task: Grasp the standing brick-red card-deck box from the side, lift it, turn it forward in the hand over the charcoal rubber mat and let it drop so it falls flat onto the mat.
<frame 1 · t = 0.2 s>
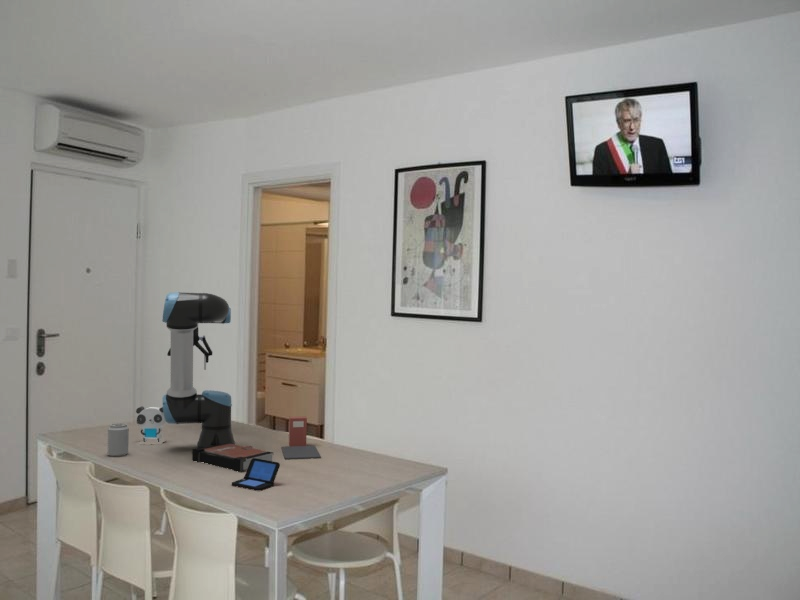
hand: (190, 368, 321), 28 cm above the table, tool tilted 20°, fingers open, 13 cm apart
handheld game console: (255, 485, 226), on the table
can: (117, 455, 263), on the table
book: (233, 463, 255), on the table
deck box: (297, 445, 285), on the table
panda figurine: (151, 442, 286), on the table
mat: (300, 452, 272), on the table
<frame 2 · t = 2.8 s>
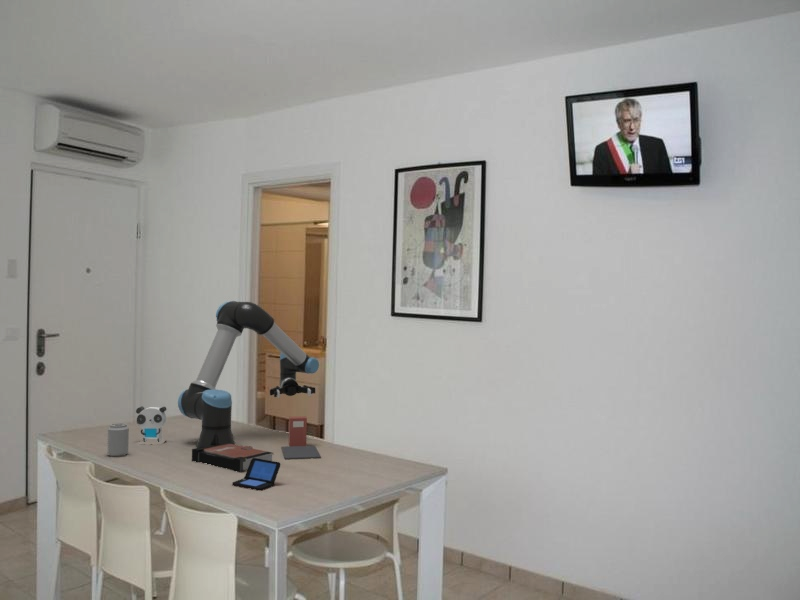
hand: (294, 394, 295), 20 cm above the table, tool horizontal, fingers open, 13 cm apart
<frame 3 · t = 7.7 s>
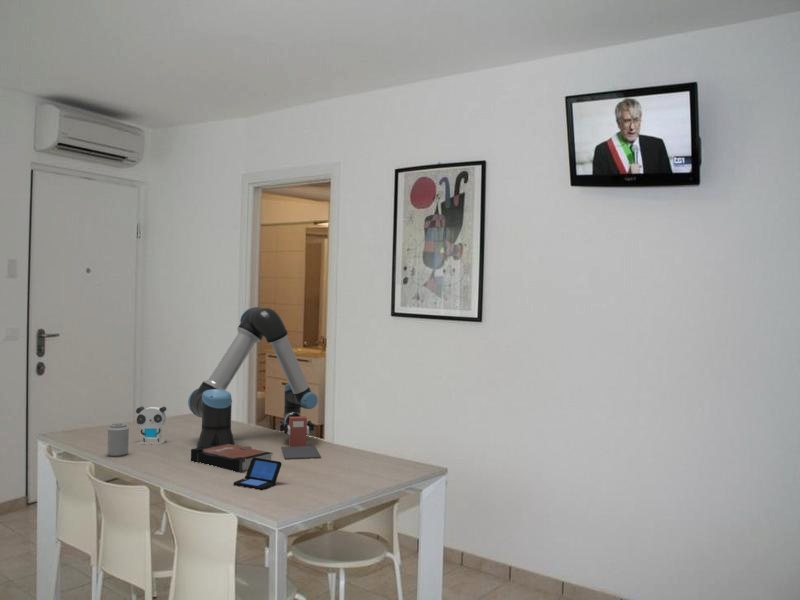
hand: (298, 431, 280), 7 cm above the table, tool horizontal, fingers closed on deck box, 7 cm apart
deck box: (297, 445, 285), on the table, touching gripper
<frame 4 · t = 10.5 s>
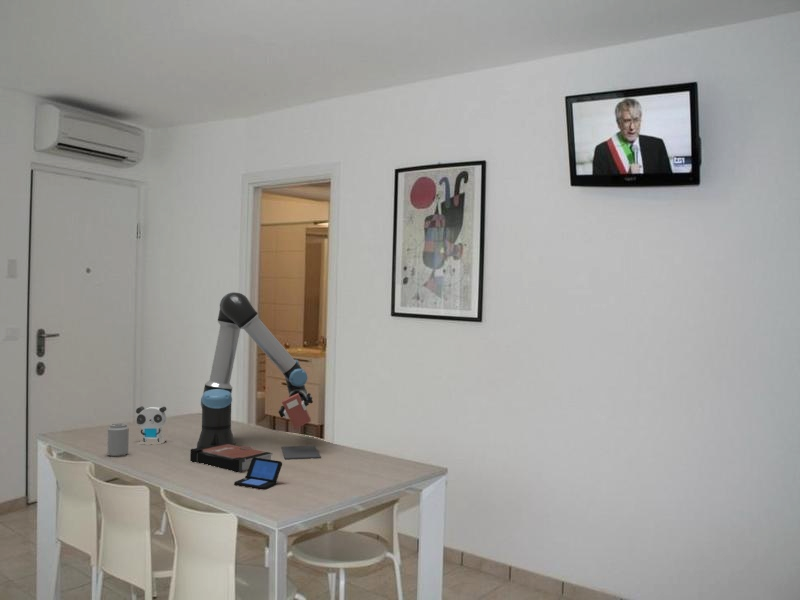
hand: (294, 411, 268), 17 cm above the table, tool horizontal, fingers closed on deck box, 7 cm apart
deck box: (302, 424, 274), point 11 cm above the table, tilted 26°, touching gripper
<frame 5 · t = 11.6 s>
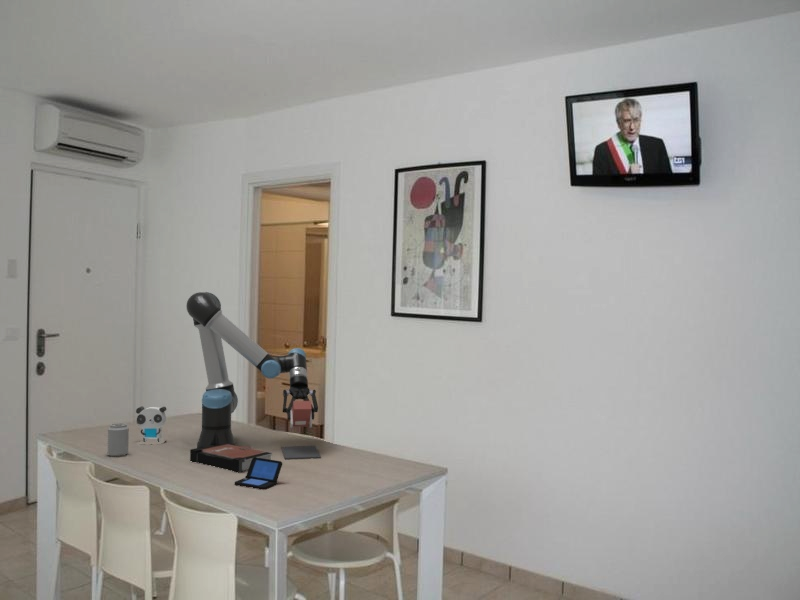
hand: (301, 425, 271), 11 cm above the table, tool tilted 45°, fingers closed on deck box, 7 cm apart
deck box: (302, 405, 270), point 20 cm above the table, tilted 135°, touching gripper
when the fingers open (4 cm above the table, at t = 13.3 s): deck box drops 10 cm and tips over, resting on mat.
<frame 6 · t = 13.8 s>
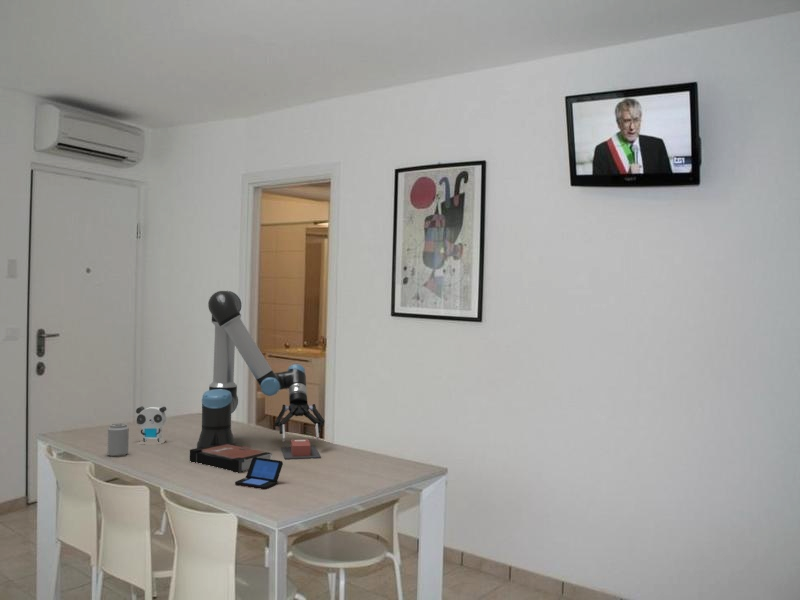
hand: (300, 439, 272), 5 cm above the table, tool tilted 45°, fingers open, 13 cm apart
deck box: (301, 451, 264), point 3 cm above the table, tilted 90°, touching mat
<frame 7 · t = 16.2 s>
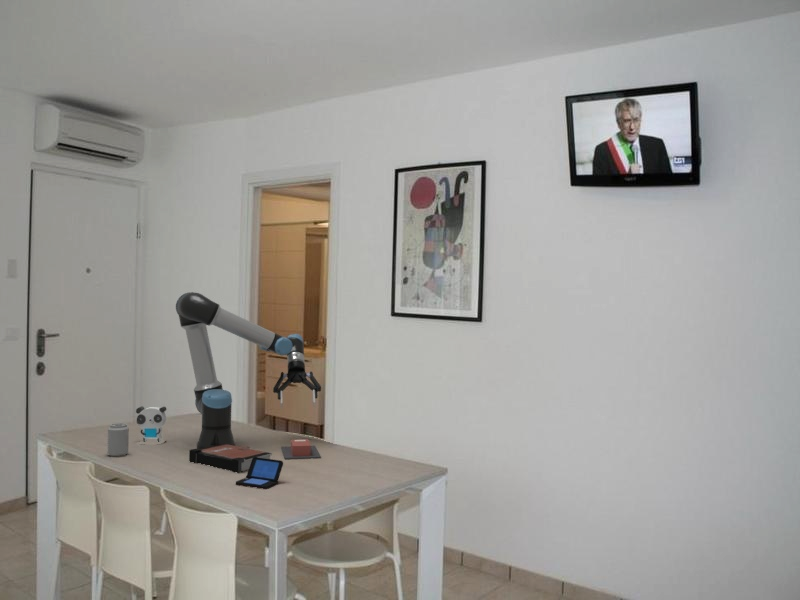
hand: (298, 404, 284), 18 cm above the table, tool tilted 45°, fingers open, 13 cm apart
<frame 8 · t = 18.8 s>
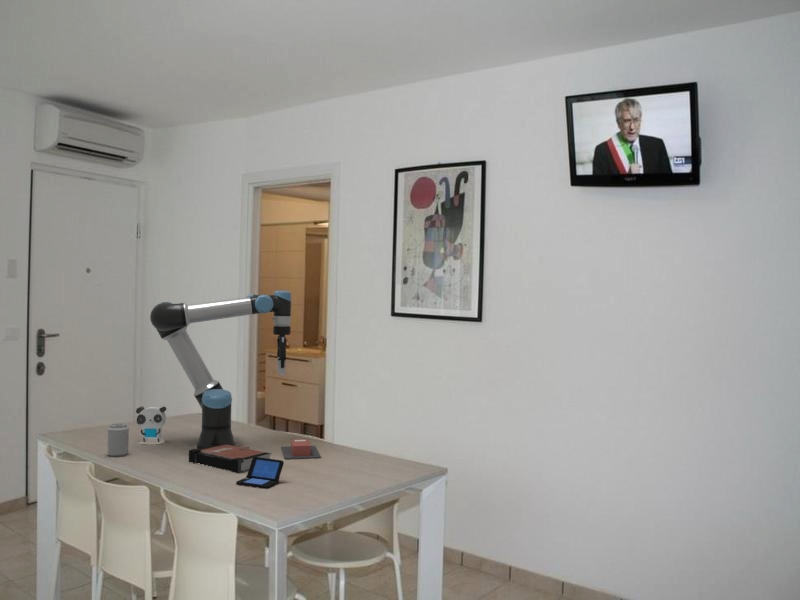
hand: (281, 373, 299), 29 cm above the table, tool pointing down, fingers open, 13 cm apart
at the end: deck box tilted 90°; deck box inside the target area on the mat (7.9 cm from its centre), point 2.6 cm above the mat's base; the gripper is holding nothing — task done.
